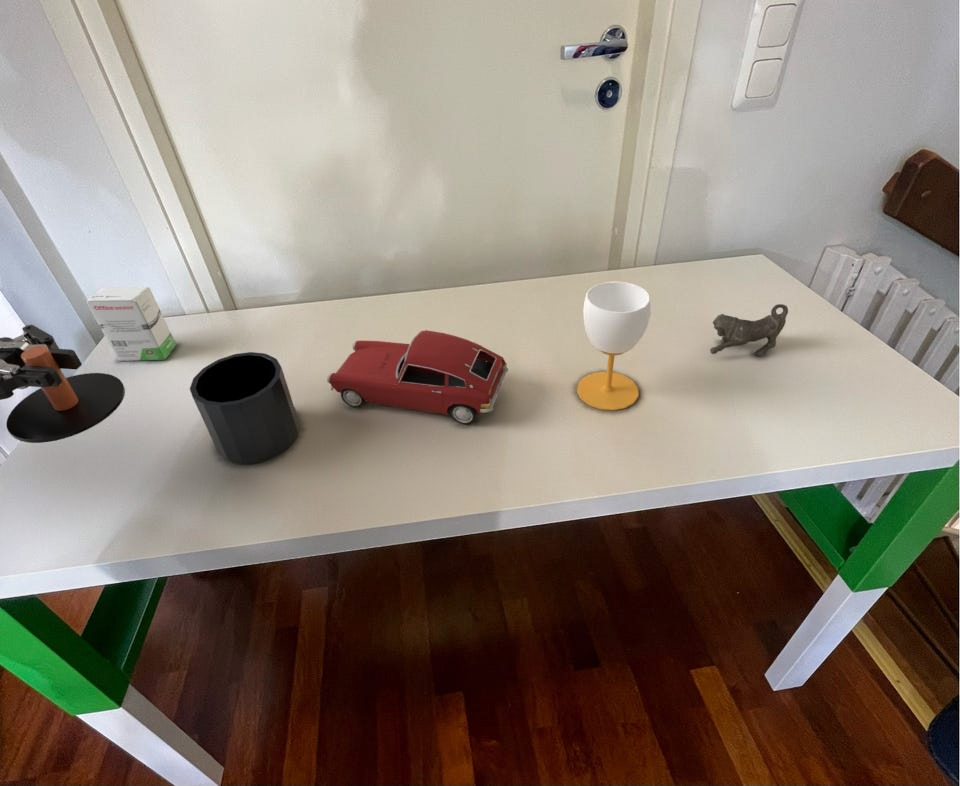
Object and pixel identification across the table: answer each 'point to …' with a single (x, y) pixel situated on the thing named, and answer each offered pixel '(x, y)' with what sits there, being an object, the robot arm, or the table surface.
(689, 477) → the table surface
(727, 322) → the dog figurine
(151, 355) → the ink box
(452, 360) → the toy car
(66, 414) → the lid
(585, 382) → the cup
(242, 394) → the canister
